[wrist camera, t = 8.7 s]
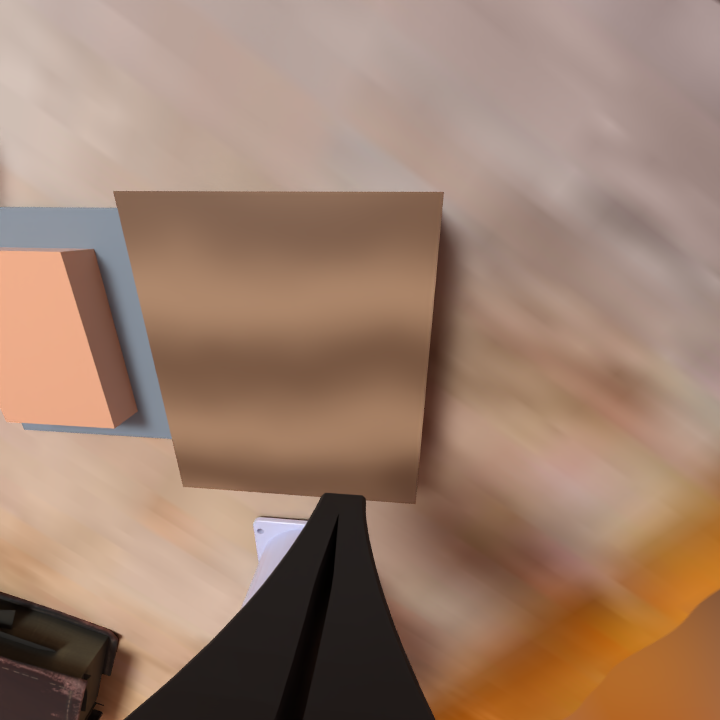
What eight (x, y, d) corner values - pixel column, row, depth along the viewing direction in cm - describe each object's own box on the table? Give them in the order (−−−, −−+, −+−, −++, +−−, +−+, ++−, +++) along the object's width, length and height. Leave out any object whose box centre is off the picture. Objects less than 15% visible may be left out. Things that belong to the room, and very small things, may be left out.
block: (6, 421, 21) (38, 405, 23) (114, 428, 20) (137, 411, 22) (-71, 249, 17) (-25, 246, 19) (60, 251, 16) (93, 248, 18)
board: (411, 456, 22) (415, 504, 18) (217, 444, 23) (183, 486, 19) (432, 198, 16) (443, 192, 13) (172, 197, 17) (113, 191, 14)
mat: (208, 437, 23) (205, 441, 22) (29, 426, 24) (24, 429, 23) (165, 208, 18) (160, 208, 17) (-62, 207, 19) (-71, 206, 18)
